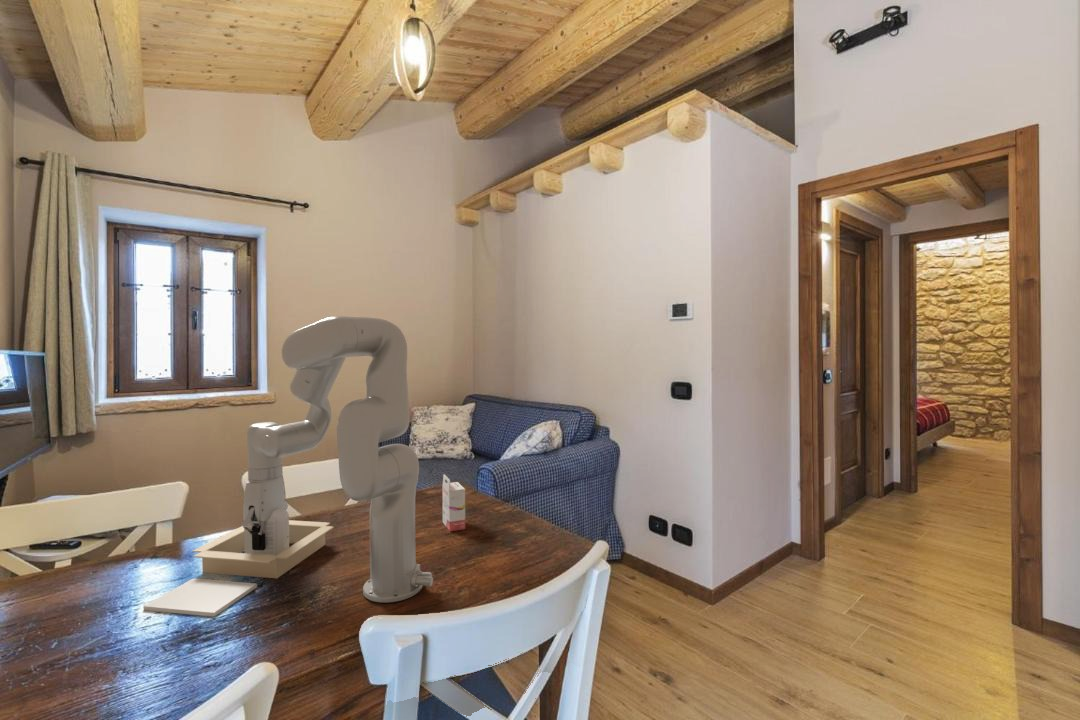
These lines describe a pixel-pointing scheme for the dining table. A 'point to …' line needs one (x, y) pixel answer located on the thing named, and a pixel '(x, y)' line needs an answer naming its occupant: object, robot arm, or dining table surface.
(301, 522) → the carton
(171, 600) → the mat
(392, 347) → the robot arm
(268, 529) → the photo printer
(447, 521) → the ink cartridge box
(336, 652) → the dining table surface
